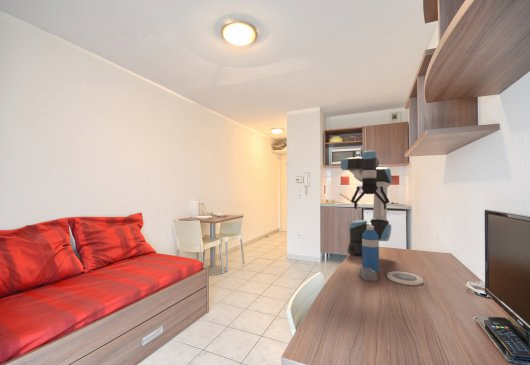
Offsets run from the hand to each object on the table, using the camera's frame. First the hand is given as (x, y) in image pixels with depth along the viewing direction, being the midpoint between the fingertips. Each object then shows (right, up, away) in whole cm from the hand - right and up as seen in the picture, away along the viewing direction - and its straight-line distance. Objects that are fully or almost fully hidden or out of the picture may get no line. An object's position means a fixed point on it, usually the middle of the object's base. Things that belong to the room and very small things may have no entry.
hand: (369, 215), depth 137 cm
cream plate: (+12, -31, -14) cm, 36 cm away
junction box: (-6, -31, -12) cm, 34 cm away
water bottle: (0, -32, -1) cm, 32 cm away
